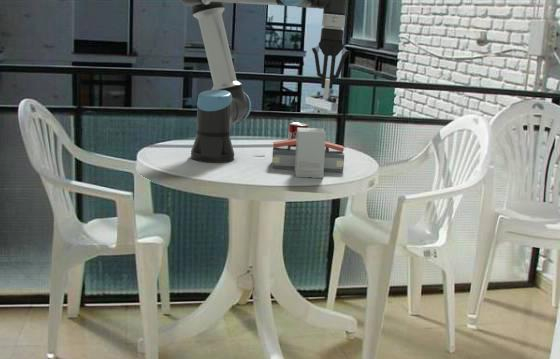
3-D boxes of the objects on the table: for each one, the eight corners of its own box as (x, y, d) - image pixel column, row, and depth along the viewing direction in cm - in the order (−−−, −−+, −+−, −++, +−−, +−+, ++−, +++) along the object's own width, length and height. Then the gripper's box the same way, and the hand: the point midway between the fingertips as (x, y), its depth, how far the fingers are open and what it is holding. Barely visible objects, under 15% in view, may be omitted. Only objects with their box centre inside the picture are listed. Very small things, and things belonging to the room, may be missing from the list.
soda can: (304, 158, 250) (307, 126, 247) (285, 156, 252) (287, 124, 249) (308, 155, 257) (310, 123, 254) (289, 153, 258) (291, 121, 256)
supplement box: (321, 172, 229) (324, 128, 226) (323, 178, 221) (326, 132, 217) (293, 171, 229) (296, 126, 226) (295, 177, 220) (298, 131, 217)
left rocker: (273, 147, 232) (273, 144, 232) (273, 145, 236) (273, 142, 236) (305, 142, 232) (305, 139, 231) (305, 140, 236) (304, 137, 236)
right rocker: (311, 143, 232) (312, 139, 231) (311, 141, 236) (312, 137, 236) (343, 151, 232) (344, 148, 232) (341, 149, 237) (342, 146, 236)
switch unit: (271, 168, 231) (273, 147, 229) (272, 162, 241) (273, 141, 239) (343, 172, 231) (344, 151, 229) (340, 166, 241) (342, 145, 239)
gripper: (313, 26, 227) (306, 97, 232) (353, 30, 227) (345, 101, 232) (313, 26, 234) (306, 95, 240) (351, 29, 234) (343, 98, 240)
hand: (325, 98), depth 236 cm, fingers closed
